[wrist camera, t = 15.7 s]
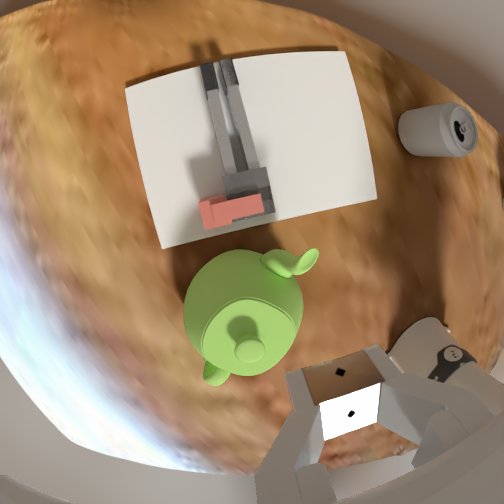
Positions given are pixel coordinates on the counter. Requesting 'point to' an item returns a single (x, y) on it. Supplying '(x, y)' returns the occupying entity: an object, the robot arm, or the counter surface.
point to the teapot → (245, 310)
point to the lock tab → (228, 209)
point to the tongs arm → (238, 112)
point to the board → (264, 137)
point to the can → (438, 131)
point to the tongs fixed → (232, 181)
